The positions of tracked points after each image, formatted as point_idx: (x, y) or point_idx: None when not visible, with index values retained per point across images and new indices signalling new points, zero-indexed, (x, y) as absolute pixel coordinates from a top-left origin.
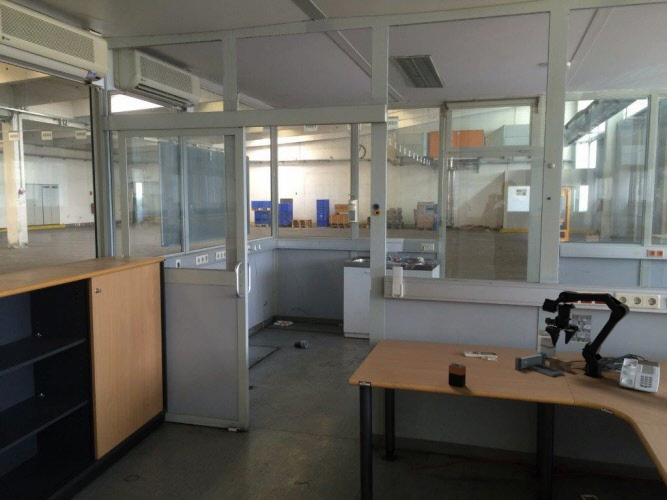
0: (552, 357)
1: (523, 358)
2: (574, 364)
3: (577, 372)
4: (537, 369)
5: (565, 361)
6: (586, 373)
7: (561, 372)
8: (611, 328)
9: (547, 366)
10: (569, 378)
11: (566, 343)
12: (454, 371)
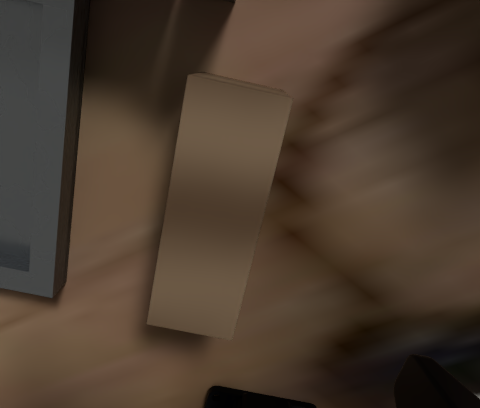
0: (204, 112)
1: None
2: (476, 221)
3: None
4: None
5: (163, 303)
6: (224, 406)
7: (32, 287)
8: None
9: (53, 122)
10: (14, 354)
11: (400, 400)
12: None
